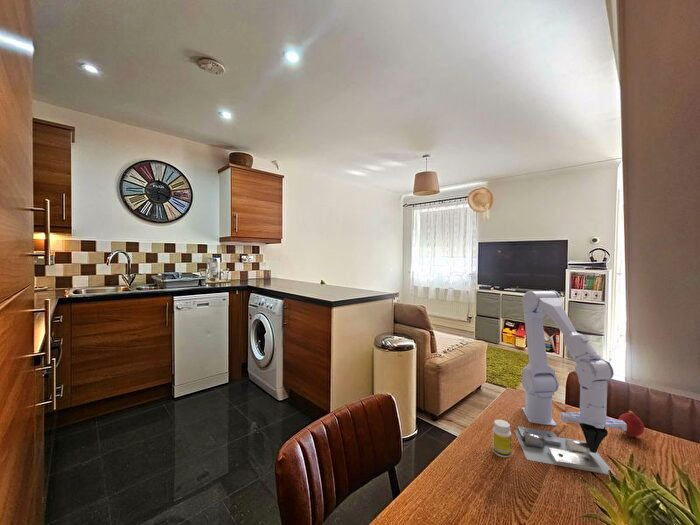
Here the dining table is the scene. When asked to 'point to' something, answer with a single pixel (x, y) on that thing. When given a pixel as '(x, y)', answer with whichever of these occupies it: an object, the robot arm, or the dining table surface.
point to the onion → (632, 424)
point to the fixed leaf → (538, 437)
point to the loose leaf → (575, 456)
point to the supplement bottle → (501, 438)
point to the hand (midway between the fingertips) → (591, 450)
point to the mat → (543, 453)
